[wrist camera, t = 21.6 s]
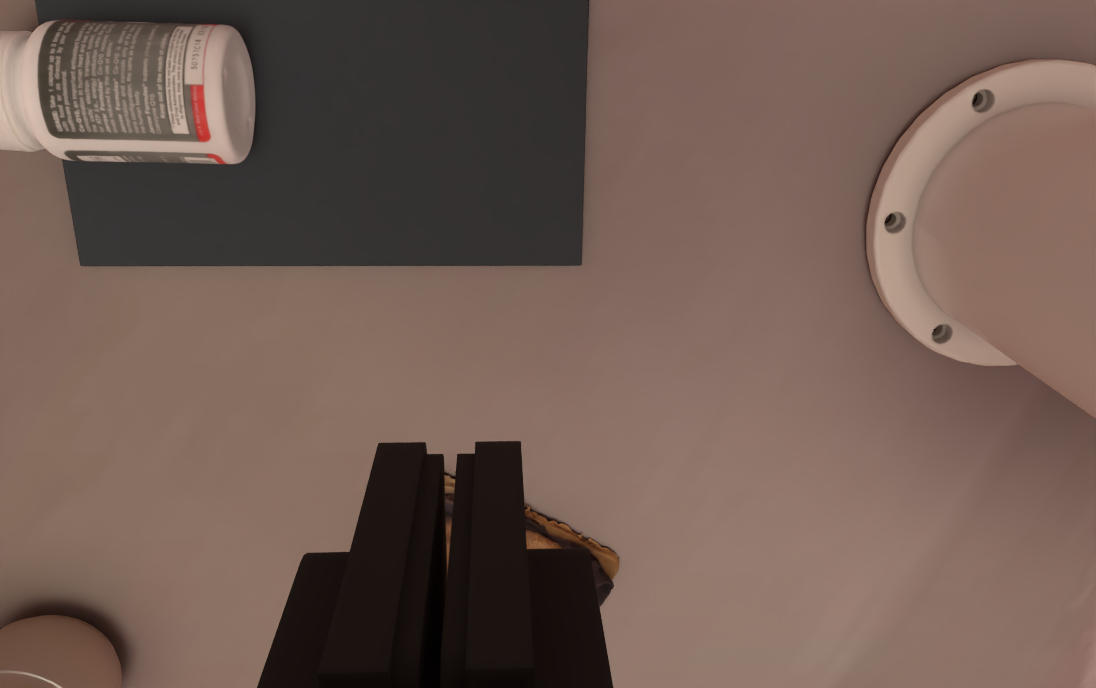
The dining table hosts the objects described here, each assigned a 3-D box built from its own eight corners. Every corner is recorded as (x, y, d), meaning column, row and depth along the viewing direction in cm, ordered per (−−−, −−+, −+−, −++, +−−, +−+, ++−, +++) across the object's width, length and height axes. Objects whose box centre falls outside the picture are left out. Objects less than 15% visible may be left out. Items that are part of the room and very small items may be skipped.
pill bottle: (234, -6, 31) (-20, -15, 31) (212, 97, 29) (-63, 89, 28) (263, 95, 35) (40, 88, 35) (246, 192, 33) (6, 186, 33)
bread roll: (345, 592, 43) (332, 644, 40) (430, 452, 41) (423, 495, 37) (541, 679, 45) (544, 735, 42) (632, 552, 43) (643, 600, 40)
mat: (592, -177, 32) (593, -179, 32) (580, 263, 38) (581, 265, 37) (6, -192, 31) (0, -194, 31) (84, 263, 37) (80, 266, 36)
